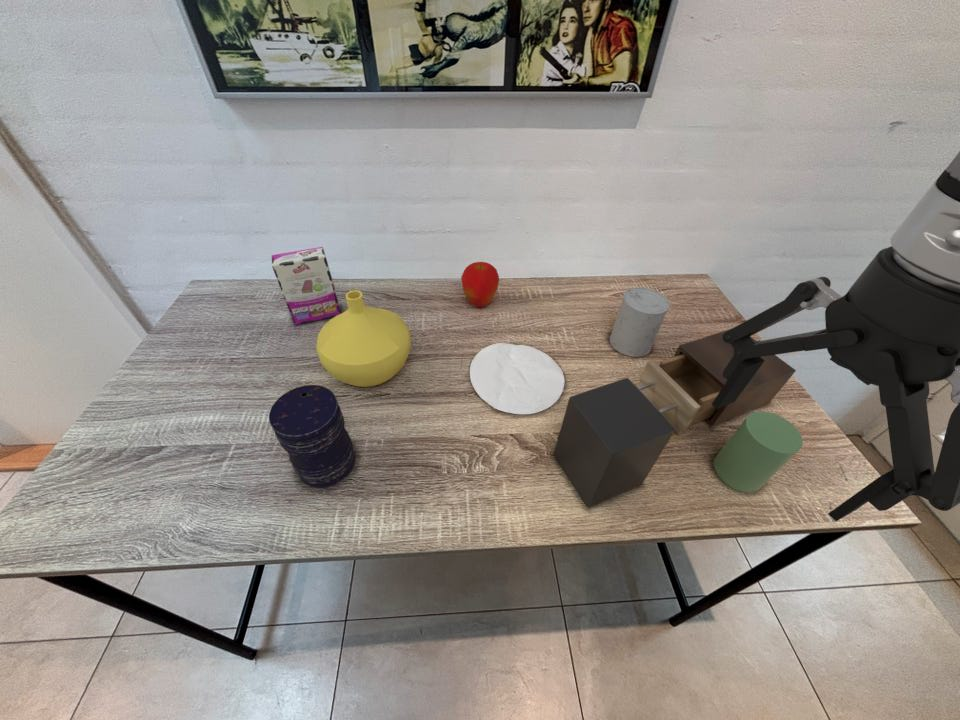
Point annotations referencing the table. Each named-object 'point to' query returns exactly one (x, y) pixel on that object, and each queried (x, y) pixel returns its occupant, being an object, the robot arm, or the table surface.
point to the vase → (363, 344)
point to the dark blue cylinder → (313, 435)
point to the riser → (610, 440)
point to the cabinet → (713, 360)
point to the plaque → (516, 378)
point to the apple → (480, 283)
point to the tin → (757, 451)
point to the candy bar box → (306, 285)
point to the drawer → (679, 391)
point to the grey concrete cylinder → (638, 321)
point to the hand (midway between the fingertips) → (775, 451)
